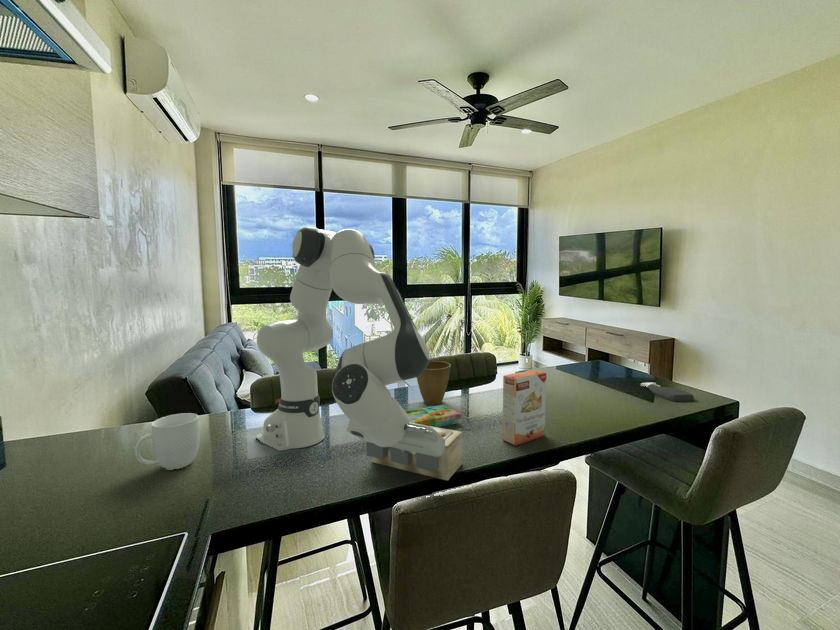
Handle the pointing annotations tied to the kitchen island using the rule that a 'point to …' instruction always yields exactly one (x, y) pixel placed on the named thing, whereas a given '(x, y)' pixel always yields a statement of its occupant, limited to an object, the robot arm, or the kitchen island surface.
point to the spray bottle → (669, 392)
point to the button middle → (400, 456)
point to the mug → (173, 440)
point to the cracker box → (524, 406)
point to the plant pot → (434, 382)
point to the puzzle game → (434, 416)
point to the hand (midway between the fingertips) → (410, 450)
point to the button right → (427, 462)
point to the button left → (376, 451)
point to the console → (447, 460)
